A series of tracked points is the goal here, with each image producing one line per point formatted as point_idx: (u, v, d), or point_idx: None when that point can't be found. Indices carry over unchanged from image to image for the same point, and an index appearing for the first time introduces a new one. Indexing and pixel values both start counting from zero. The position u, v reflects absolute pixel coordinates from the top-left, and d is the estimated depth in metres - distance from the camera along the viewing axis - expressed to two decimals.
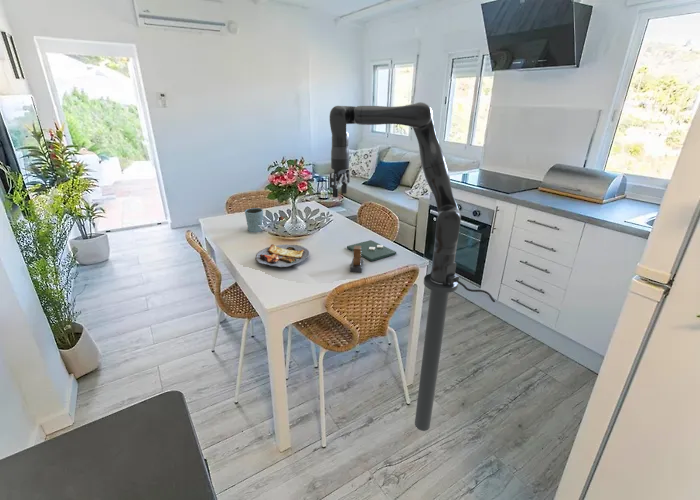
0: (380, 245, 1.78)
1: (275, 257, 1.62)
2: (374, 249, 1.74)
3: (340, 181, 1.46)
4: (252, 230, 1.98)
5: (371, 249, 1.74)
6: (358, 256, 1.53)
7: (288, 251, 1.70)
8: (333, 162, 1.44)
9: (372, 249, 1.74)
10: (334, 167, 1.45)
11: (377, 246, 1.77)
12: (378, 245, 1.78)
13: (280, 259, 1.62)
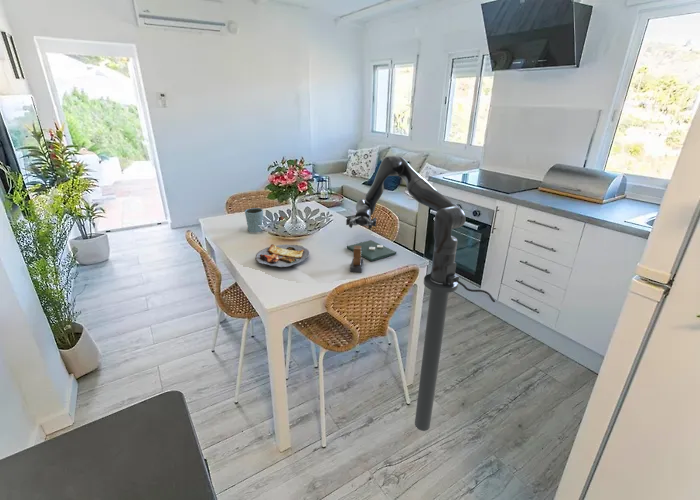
0: (380, 245, 1.78)
1: (275, 257, 1.62)
2: (374, 249, 1.74)
3: (355, 218, 1.67)
4: (252, 230, 1.98)
5: (371, 249, 1.74)
6: (358, 256, 1.53)
7: (288, 251, 1.70)
8: None
9: (372, 249, 1.74)
10: None
11: (377, 246, 1.77)
12: (378, 245, 1.78)
13: (280, 259, 1.62)
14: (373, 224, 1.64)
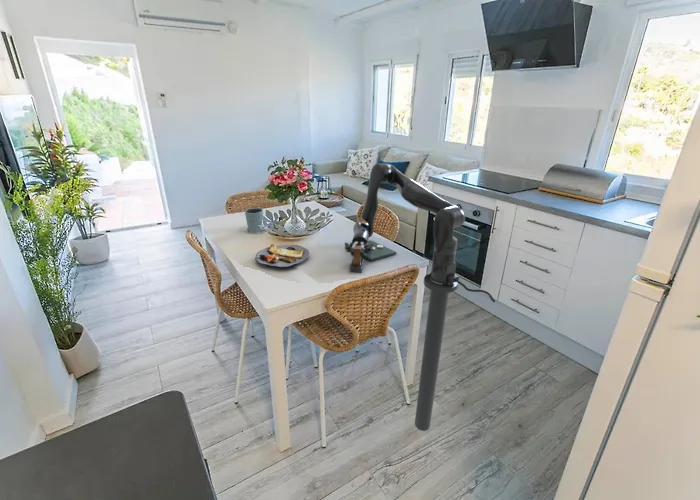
0: (380, 245, 1.78)
1: (275, 257, 1.62)
2: (374, 249, 1.74)
3: (355, 244, 1.58)
4: (252, 230, 1.98)
5: None
6: (358, 256, 1.53)
7: (288, 251, 1.70)
8: None
9: None
10: None
11: (377, 246, 1.77)
12: (378, 245, 1.78)
13: (280, 259, 1.62)
14: (365, 251, 1.55)
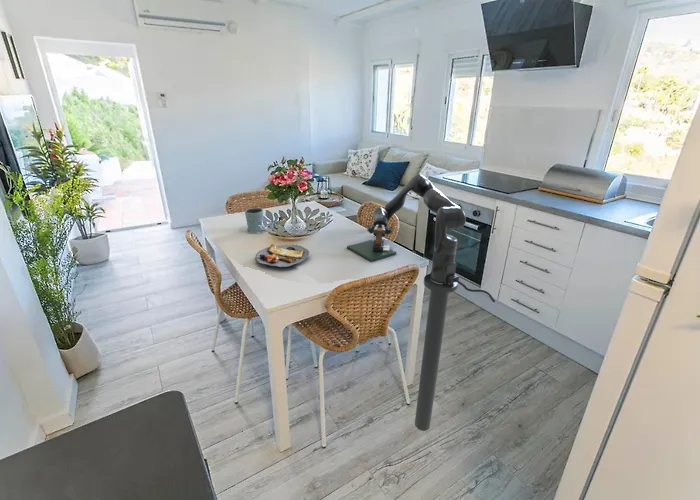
0: (386, 245, 1.78)
1: (275, 257, 1.62)
2: (388, 250, 1.73)
3: (376, 226, 1.77)
4: (252, 230, 1.98)
5: (385, 250, 1.73)
6: (380, 237, 1.72)
7: (288, 251, 1.70)
8: None
9: (386, 250, 1.73)
10: None
11: (383, 246, 1.77)
12: (384, 245, 1.78)
13: (280, 259, 1.62)
14: (386, 232, 1.74)
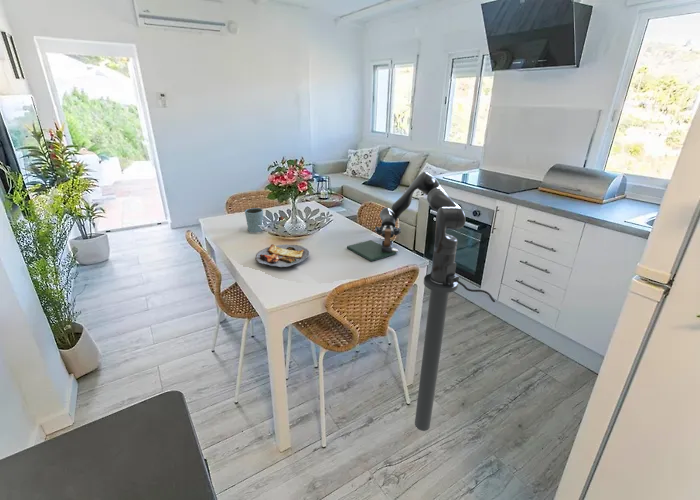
0: None
1: (275, 257, 1.62)
2: (397, 251, 1.72)
3: (384, 227, 1.76)
4: (252, 230, 1.98)
5: (394, 250, 1.73)
6: (388, 238, 1.72)
7: (288, 251, 1.70)
8: None
9: (395, 250, 1.72)
10: None
11: None
12: None
13: (280, 259, 1.62)
14: (394, 233, 1.74)
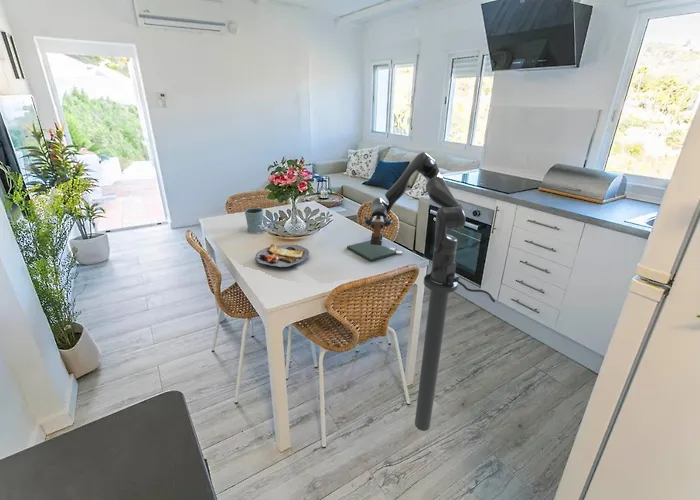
0: (392, 248, 1.79)
1: (275, 257, 1.62)
2: (401, 253, 1.73)
3: (374, 218, 1.62)
4: (252, 230, 1.98)
5: (398, 253, 1.73)
6: (378, 229, 1.57)
7: (288, 251, 1.70)
8: None
9: (399, 253, 1.73)
10: None
11: None
12: (390, 248, 1.79)
13: (280, 259, 1.62)
14: (385, 224, 1.59)
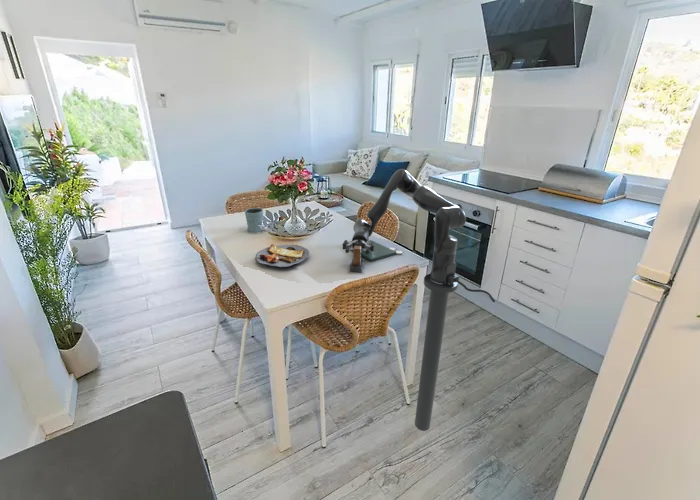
0: (392, 248, 1.79)
1: (275, 257, 1.62)
2: (401, 253, 1.73)
3: (352, 242, 1.58)
4: (252, 230, 1.98)
5: (398, 253, 1.73)
6: (358, 256, 1.53)
7: (288, 251, 1.70)
8: None
9: (399, 253, 1.73)
10: None
11: None
12: (390, 248, 1.79)
13: (280, 259, 1.62)
14: (371, 249, 1.55)
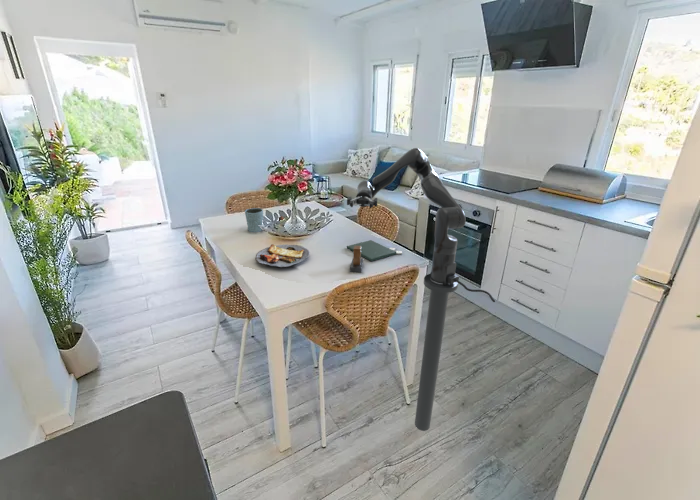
0: (392, 248, 1.79)
1: (275, 257, 1.62)
2: (401, 253, 1.73)
3: (356, 198, 1.63)
4: (252, 230, 1.98)
5: (398, 253, 1.73)
6: (358, 256, 1.53)
7: (288, 251, 1.70)
8: None
9: (399, 253, 1.73)
10: None
11: None
12: (390, 248, 1.79)
13: (280, 259, 1.62)
14: (374, 204, 1.61)
